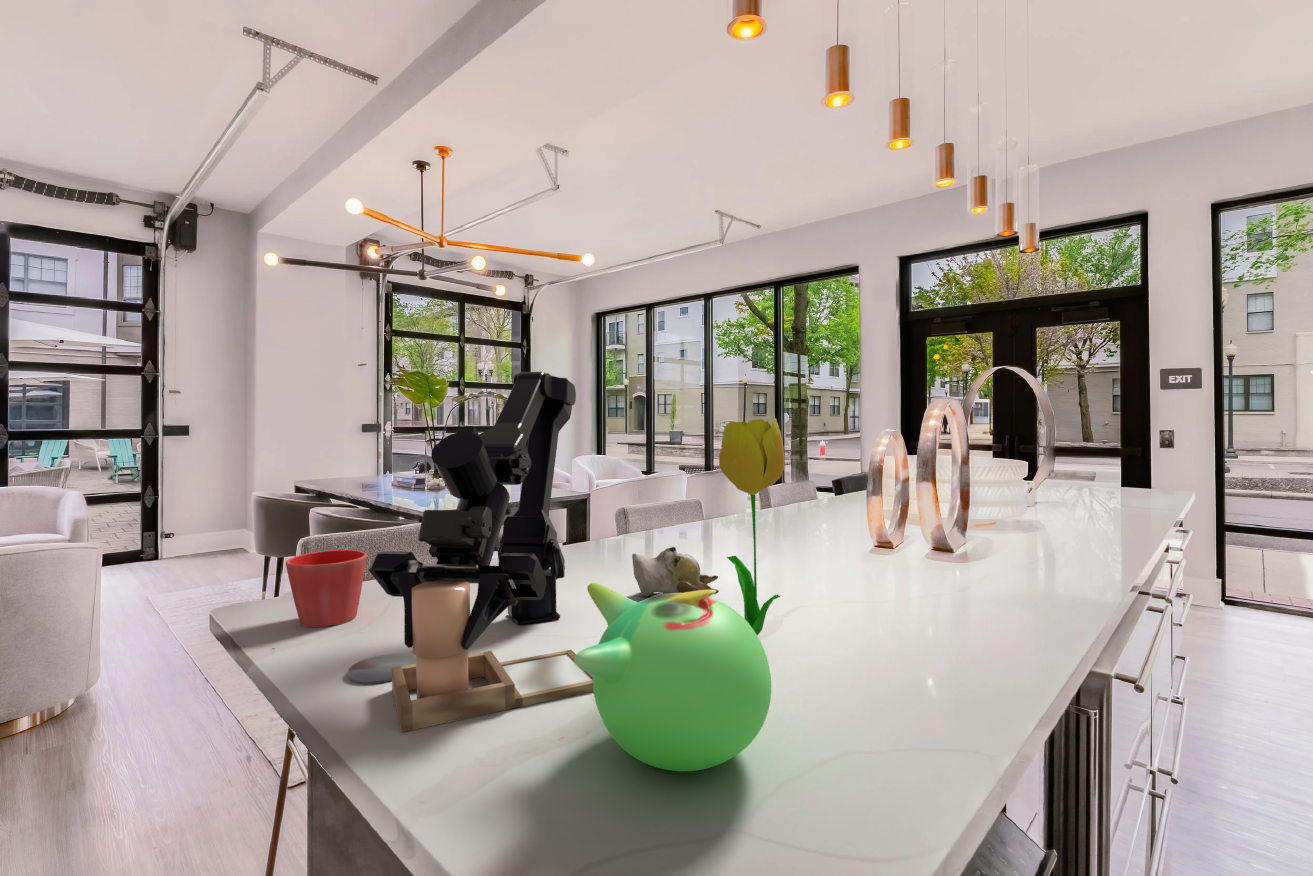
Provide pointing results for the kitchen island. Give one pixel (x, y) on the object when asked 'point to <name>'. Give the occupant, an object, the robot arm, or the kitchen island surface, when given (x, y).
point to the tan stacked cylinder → (440, 636)
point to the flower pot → (326, 586)
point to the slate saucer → (378, 668)
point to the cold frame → (491, 688)
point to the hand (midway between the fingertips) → (435, 646)
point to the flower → (752, 490)
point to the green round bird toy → (677, 678)
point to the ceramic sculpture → (669, 573)
